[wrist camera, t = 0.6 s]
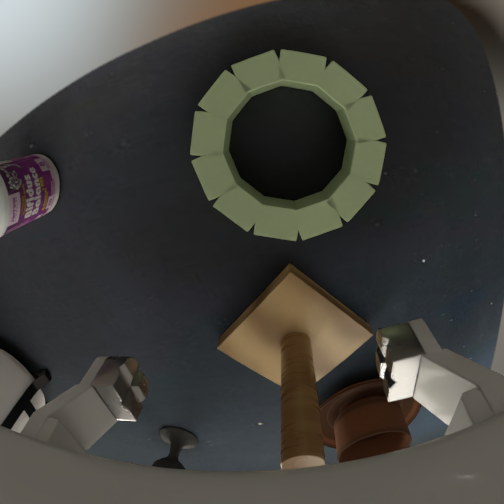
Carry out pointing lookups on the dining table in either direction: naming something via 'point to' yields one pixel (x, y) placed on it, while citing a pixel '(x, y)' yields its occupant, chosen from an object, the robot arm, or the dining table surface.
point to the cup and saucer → (366, 421)
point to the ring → (274, 209)
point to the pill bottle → (26, 190)
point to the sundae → (175, 446)
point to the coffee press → (19, 392)
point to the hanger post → (296, 354)
